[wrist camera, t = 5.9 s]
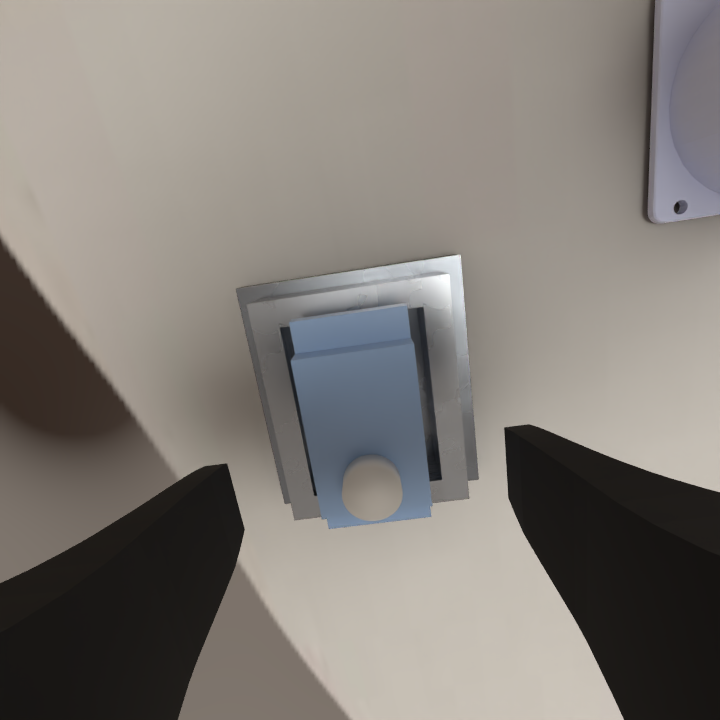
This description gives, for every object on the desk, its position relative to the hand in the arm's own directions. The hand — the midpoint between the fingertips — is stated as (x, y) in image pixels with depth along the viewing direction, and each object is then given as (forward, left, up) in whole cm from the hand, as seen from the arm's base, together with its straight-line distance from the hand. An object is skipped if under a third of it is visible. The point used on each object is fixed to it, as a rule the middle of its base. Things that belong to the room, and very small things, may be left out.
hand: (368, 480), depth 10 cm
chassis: (0, 0, -8) cm, 8 cm away
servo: (0, 0, -7) cm, 7 cm away
